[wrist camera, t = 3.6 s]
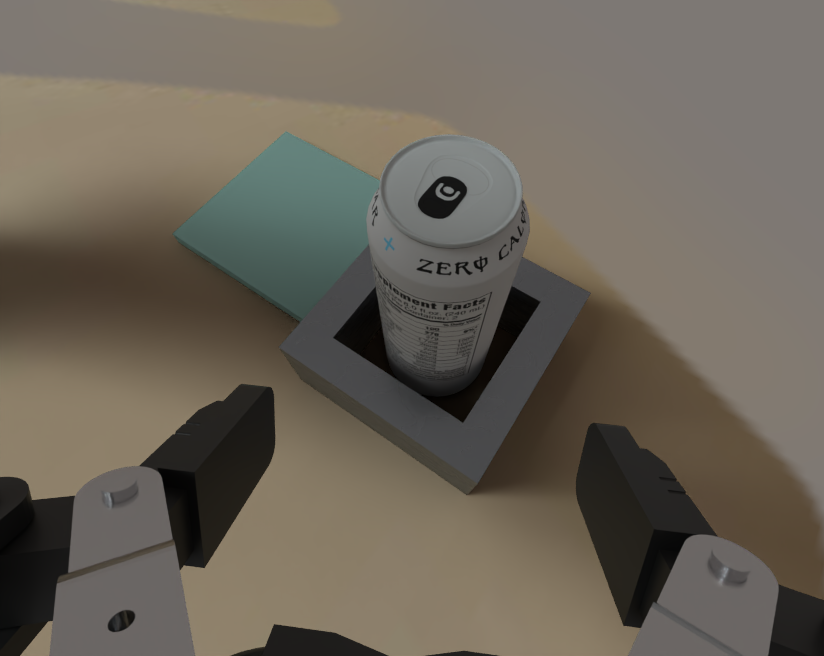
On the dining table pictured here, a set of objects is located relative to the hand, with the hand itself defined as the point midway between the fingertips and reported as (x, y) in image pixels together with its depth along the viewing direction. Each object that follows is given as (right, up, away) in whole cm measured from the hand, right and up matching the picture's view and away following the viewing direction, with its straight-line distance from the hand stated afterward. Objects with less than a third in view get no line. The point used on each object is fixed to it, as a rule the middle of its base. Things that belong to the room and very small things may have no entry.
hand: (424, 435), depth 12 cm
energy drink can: (+1, +1, +17) cm, 18 cm away
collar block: (+1, +1, +17) cm, 17 cm away
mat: (-9, +10, +22) cm, 26 cm away
